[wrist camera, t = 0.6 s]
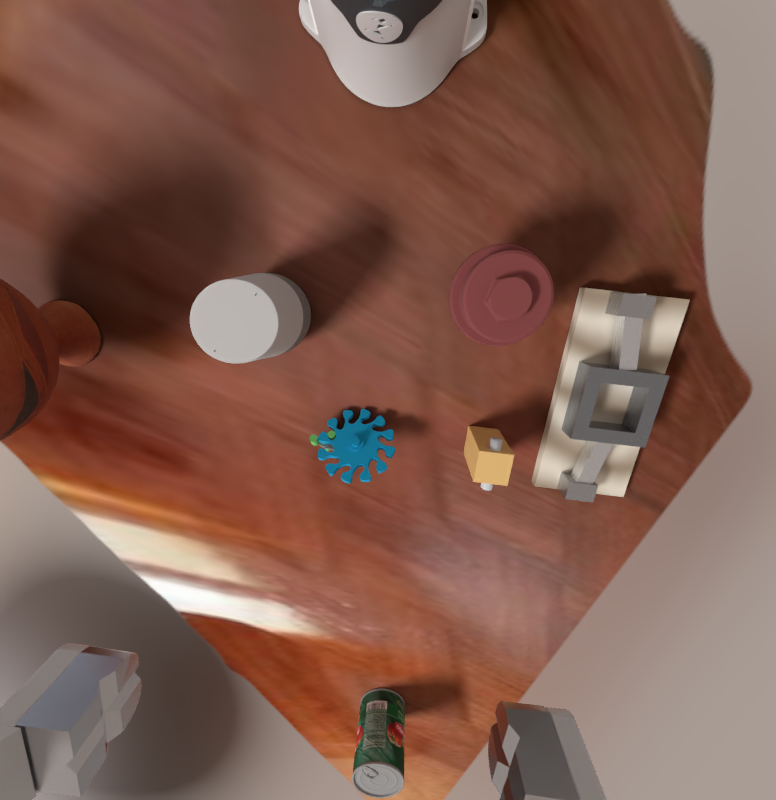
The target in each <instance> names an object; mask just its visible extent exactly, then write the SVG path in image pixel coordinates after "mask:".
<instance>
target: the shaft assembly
mask: <svg viewBox="0 0 776 800" xmlns="http://www.w3.org/2000/svg"><path fill="white" fill-rule="evenodd" d="M646 295H647V293H610V297H609V300H608V304H607V308H606V311H605V314H610V315H616V316H615V325H614V334H613V344H612V353H611V362H610V365H605V364H597V363H588V362H580V361H579V365H578V369H577V372H576V376H575V380H574V384H573V388H572V391H571V395H570V399H569V403H568V406H567V410H566V414H565V418H564V421H563V425H562V429H561V430H562V431H563V432H564V433H565V434H566V435H567V436H568V437H569V438H570V439H576V440H584V441H587V442H586V444H585V446H584V448H583V450H582V452H581V454H580V456H579V458H578V460H577V462H576V464H575V466H574V468H573V470H572V472H571V473H567V472H561V475H560V478H559V482H558V486H557V488H558V490H559V491H560V492H561V494H562V495H563V497H564V498H565V499H571V500H579V501H583V502H584V501H587V502H593V501H594V498H595V495H596V492H597V488H598V485H597V484H596V483H595V482H594V480H595V479H596V477H597V475H598V473H599V471H600V469H601V467H602V465H603V463H604V461H605V459H606V457H607V455H608V454H609V452H610V450H611V448H612V446H613V444H618V445H626V446H635V447H643V448H645V447H646V444H647V441H648V438H649V435H650V432H651V429H652V426H653V423H654V420H655V417H656V414H657V412H658V409H659V406H660V403H661V400H662V397H663V394H664V391H665V388H666V385H667V382H668V379H669V377H670V376H669V375H666V374H663V373H660V372H657V371H655V370H648V369H640V368H637V364H638V356H639V349H640V341H641V333H642V326H643V319H651V315H652V312H653V309H654V306H655V303H656V299H657V297H653V296H646ZM601 383H608V384H616V385H625V386H634V387H633V390H632V394H631V397H630V400H629V403H628V406H627V409H626V413H625V416H624V419H623V422H622V424H616V423H608V422H599V421H591V418H592V414H593V411H594V407H595V404H596V400H597V397H598V393H599V390H600V386H601Z"/></svg>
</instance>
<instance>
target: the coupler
mask: <svg viewBox="0 0 776 800" xmlns="http://www.w3.org/2000/svg"><path fill="white" fill-rule="evenodd" d="M464 455H465V458H466V461H467V464H468V467H469V470H470V473H471V476H472V479H473V482H479V483H481V488H482V489H484V490H487V491H490V490H492V488H493V484H496V485H504V486H507V485H508V480H509V476H510V472H511V467H512V463H513V459H514V454H513V452H512V450H511V449H510V447H509V446H508V444H507V442H506V441H505V439H504V438H503V436H502V434H501V433H500V431H499V429H493V428H485V427H476V426H469V427H468V432H467V437H466V443H465V448H464Z"/></svg>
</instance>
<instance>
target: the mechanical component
mask: <svg viewBox="0 0 776 800" xmlns="http://www.w3.org/2000/svg"><path fill="white" fill-rule="evenodd" d="M553 299H554V286H553V281H552V277H551V275H550V273H549V271H548V269H547V268H546V266H545V265H544V264H543V263H542V262H541V260H540V259H539V258H538V257H537V256H536V255H535V254H534V253H532V252H531V251H529V250H528V249H526V248H524V247H521V246H518V245H514V244H496V245H491V246H488V247H485V248H483V249H481V250H479V251H477V252H475V253H474V254H472V255H471V256H470V257H468V258H467V259H466V260H465V261H464V262H463V263H462V265H461V266H460V267H459V269H458V270H457V272H456V274H455V275H454V278H453V280H452V283H451V287H450V292H449V305H450V311H451V314H452V317H453V319H454V321H455V323H456V324H457V326H458V327H459V329H460V330H461V331H462V332H463V333H464V334H465V335H467V336H468V337H469V338H471V339H472V340H474V341H476V342H478V343H480V344H484V345H488V346H505V345H509V344H513V343H515V342H518V341H520V340H522V339H524V338H526V337H528V336H530V335H531V334H532V333H534V332H535V331H536V330H537V329H538V328H539V327H540V326H541V325H542V324H543V323H544V321H545V320H546V318H547V317H548V315H549V313H550V310H551V308H552V304H553Z"/></svg>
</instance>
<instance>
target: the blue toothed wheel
mask: <svg viewBox="0 0 776 800" xmlns="http://www.w3.org/2000/svg"><path fill="white" fill-rule="evenodd" d="M343 416H344V419H345V424H344V427H343V428H342V429H340V430H339V429H337V426H338V422H337V419H336V418H332V419H330V420H329V421H327V423H328V426H329V427H330V428H331V429H333V430H334V431H335V432H334V431H329V432H328V435H327V433H326V432H322V433H321V434H320V435H319V437H317V435H315V434H313V435H311V436H310V441H311V443H312V445H314V446H316V445H318V444H320V446H321V447H322V449H319V451H318V458H319V460H325V459H328V458H337V459H339V460H340V462H339V463H338V464H331V463H330V464H327V465H326V470H327V471H328V473H329V475H330V476H332V475H334V474H335V473H336V471H337V470H338V469H340V468H341V467H344V466H350V467H351V469H350V470H349V471H347V472H344V473H343V474H342V475H341V479H342V480H343V481H344V482H346V483H348V484H349V483H351V481H352V476H353V473H354V472H355V470H356V469H357V468H358V467H360V466H363V467H364V468H365V469H364V471H363V472H362V473H361V474H360V480H361V481H362V482H369V481H371V476H370V473H369V471H368V468H369V464H370V462H371V461H372V460H375V461H377V465H376V469H377V472H378V473H382V472H384V471H385V470H387V465H386V463H384V462H383V461H381V460H380V458H379V457H378V454H377V451H378V450H380V449H382V450H384V451H385V454H386V456H387V457H388V458H392V456H393V455H394V453H395V448H394V447H393V446H386V445H383V444H382V443H381V442H379V441H378V439H379V438H380V437H384V438H385V439H386V440H388V441H392V440H393V430H392V429H388V430H386V431H383V432H378V431H374V430H372V429H373V427H375V426H378V427H383V426H385V420H384V418H383V417H382V416H381V415H380V416H378V417H377V418H376V419H375V420H374V421H373V422H371V423H369V424H362V421H363V420H367V419H369V418H370V416H371V414H370V412H369V411H368V410H366V409H362V410H361V412H360V417H359V419H358V420H357V421H356V422H355V423H354V424H350V423H349V421H350V420H351V419H352V418H353V412H352V411H351V410H345V411H343ZM323 448H325V449H326V450H325V449H323ZM330 450H334V451H333V452H331V453H329V452H327V451H330Z"/></svg>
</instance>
